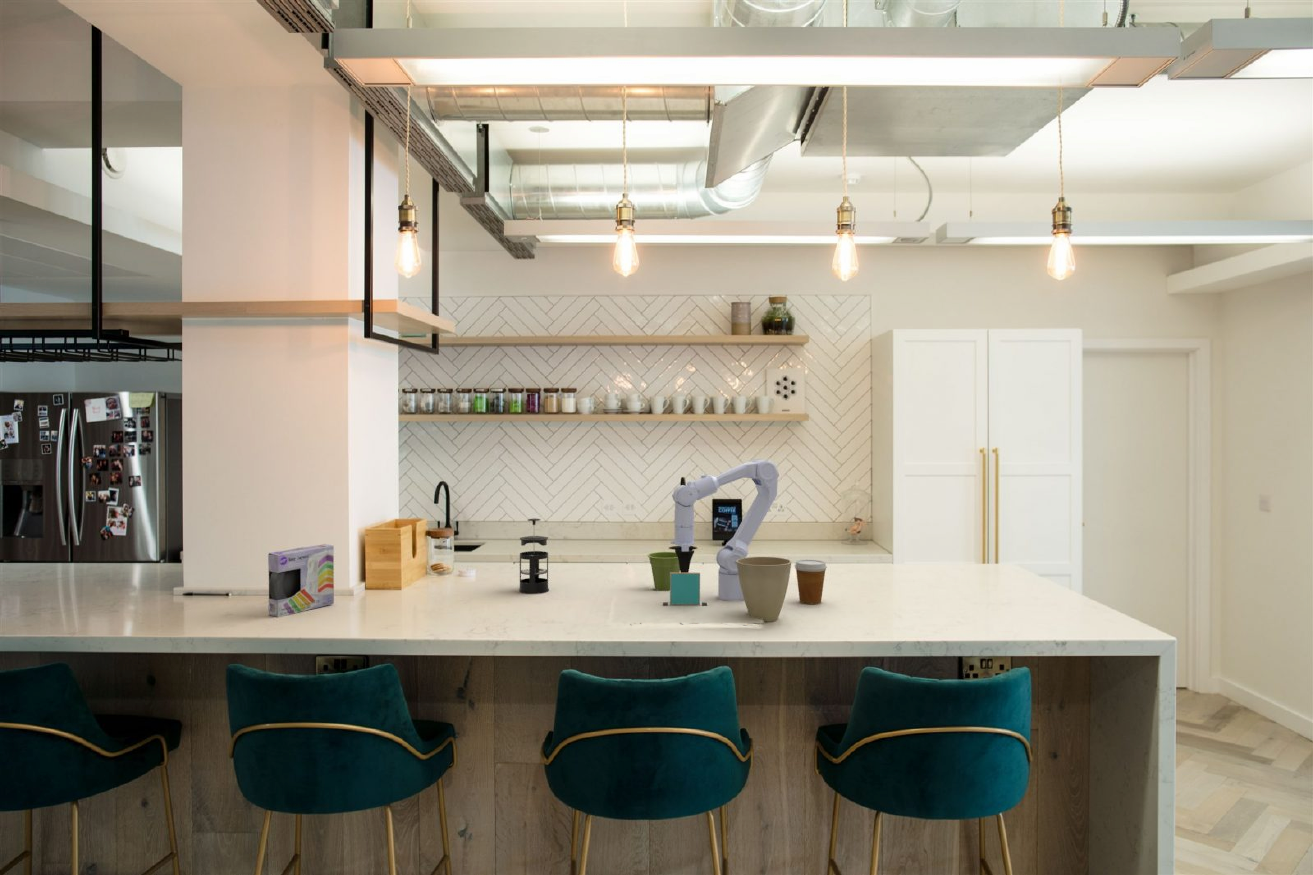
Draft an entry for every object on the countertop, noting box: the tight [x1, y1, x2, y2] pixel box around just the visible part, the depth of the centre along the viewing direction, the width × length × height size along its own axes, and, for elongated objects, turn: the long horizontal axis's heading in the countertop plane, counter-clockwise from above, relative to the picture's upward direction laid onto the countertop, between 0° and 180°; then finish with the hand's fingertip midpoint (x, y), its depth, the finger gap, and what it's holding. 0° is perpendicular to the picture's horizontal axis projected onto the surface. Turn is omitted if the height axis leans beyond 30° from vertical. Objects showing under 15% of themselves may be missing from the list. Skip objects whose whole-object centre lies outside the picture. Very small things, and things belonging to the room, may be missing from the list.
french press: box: [518, 517, 550, 595], centre depth 257 cm, size 12×9×23 cm
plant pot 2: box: [736, 556, 792, 623], centre depth 220 cm, size 15×15×16 cm
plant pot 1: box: [647, 551, 680, 592], centre depth 259 cm, size 12×12×11 cm
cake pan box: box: [267, 543, 335, 618], centre depth 228 cm, size 19×5×18 cm, turn 149°
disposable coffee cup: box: [794, 559, 828, 605], centre depth 241 cm, size 10×10×12 cm
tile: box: [669, 571, 701, 605], centre depth 232 cm, size 9×1×9 cm, turn 90°
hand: (684, 572), depth 238 cm, fingers open, 4 cm apart
